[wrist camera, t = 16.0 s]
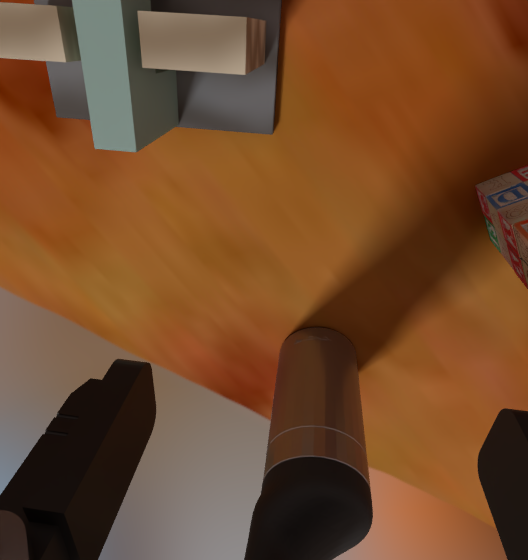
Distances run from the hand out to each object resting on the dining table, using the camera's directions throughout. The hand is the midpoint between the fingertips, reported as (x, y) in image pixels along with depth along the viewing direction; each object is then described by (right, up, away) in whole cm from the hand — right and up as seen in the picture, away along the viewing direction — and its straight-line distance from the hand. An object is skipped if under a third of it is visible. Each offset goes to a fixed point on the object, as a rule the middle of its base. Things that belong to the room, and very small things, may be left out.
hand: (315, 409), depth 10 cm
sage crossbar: (-10, +23, +24) cm, 35 cm away
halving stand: (-10, +23, +25) cm, 36 cm away
